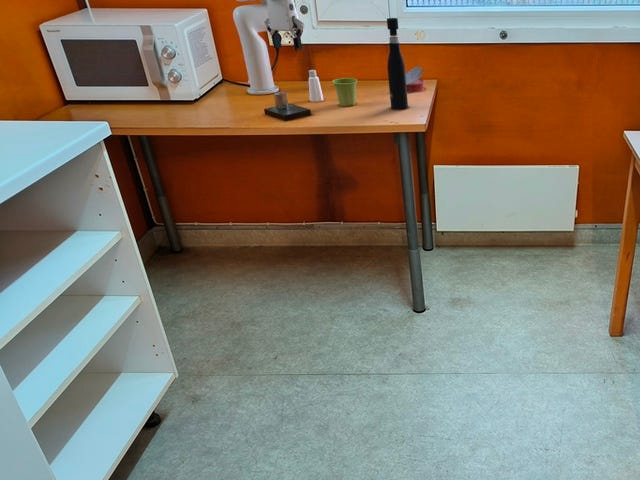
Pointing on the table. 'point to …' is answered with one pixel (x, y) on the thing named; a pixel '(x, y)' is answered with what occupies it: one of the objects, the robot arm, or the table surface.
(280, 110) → the black knob panel
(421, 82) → the tissue box
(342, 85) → the plant pot
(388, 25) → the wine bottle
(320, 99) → the pepper shaker
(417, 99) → the table surface
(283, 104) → the hob knob
